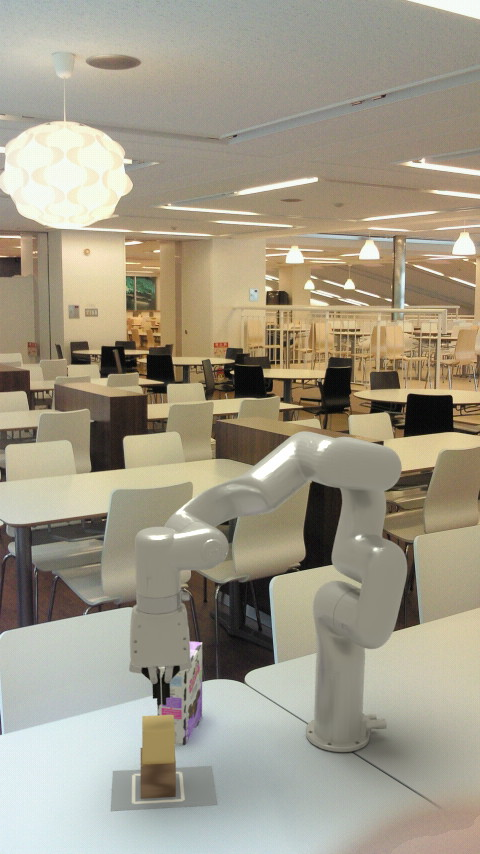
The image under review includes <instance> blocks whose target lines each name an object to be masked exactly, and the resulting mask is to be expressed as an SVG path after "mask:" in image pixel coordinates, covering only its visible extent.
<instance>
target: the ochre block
mask: <svg viewBox="0 0 480 854" xmlns="http://www.w3.org/2000/svg"><path fill="white" fill-rule="evenodd" d="M141 717H142V718H141V719H142V720H141V721H142V722H141V723H142V724H141V728H142V731H141V732H142V733H141V736H142V738H141V739H142V740H141V743H142V744H141V745H142V747H141V748H142V765H146V764H167V763H175V760H176V752H175V751H176V749H175V748H176V744H175V726H174V715H158V714H157V715H142V716H141Z"/></svg>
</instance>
